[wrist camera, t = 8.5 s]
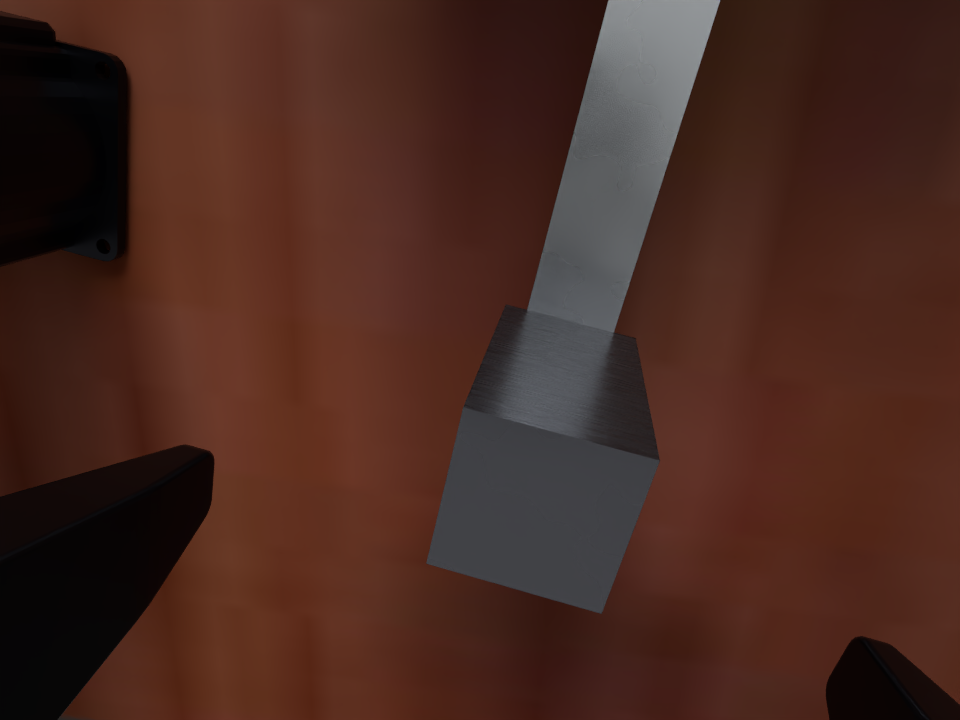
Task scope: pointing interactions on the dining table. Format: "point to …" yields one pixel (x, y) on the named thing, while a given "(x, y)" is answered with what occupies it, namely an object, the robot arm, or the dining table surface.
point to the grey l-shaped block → (576, 340)
